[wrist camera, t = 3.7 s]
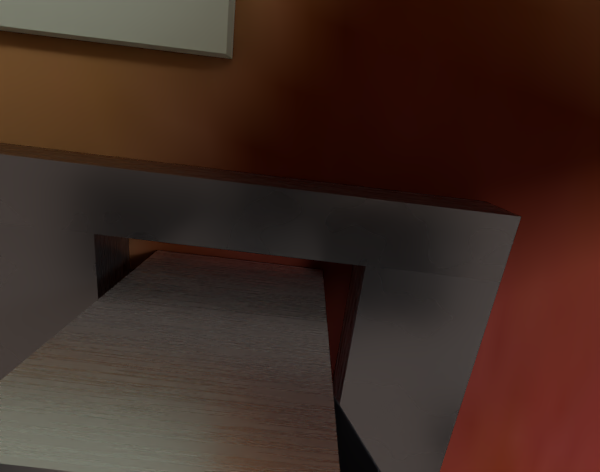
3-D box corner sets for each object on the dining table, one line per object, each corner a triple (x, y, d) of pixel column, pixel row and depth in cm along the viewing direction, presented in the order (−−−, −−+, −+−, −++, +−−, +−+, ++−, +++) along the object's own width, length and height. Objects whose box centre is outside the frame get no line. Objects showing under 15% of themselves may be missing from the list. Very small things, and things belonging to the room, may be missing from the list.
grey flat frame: (486, 201, 9) (520, 216, 7) (409, 469, 11) (424, 519, 10) (-409, 93, 8) (-554, 87, 7) (-269, 393, 11) (-353, 432, 10)
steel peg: (322, 269, 9) (342, 501, 4) (302, 401, 11) (295, 723, 5) (157, 250, 9) (-88, 453, 4) (159, 385, 11) (-18, 690, 5)
